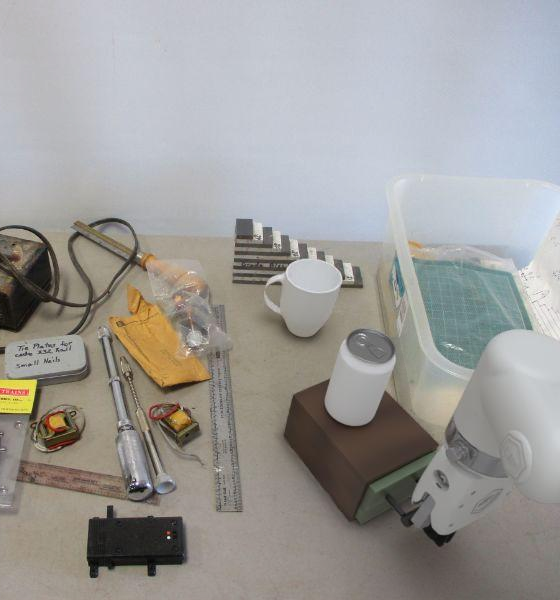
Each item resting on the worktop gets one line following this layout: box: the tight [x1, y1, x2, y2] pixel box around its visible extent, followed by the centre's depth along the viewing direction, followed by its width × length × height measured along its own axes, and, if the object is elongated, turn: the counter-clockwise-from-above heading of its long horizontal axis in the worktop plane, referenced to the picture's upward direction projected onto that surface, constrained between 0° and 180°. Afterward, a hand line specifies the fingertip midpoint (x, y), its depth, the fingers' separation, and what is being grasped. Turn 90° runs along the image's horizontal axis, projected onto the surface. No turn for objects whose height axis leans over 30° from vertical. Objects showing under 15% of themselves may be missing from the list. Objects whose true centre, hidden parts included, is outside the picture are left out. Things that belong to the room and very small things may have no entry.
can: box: [325, 327, 397, 426], centre depth 73 cm, size 6×6×12 cm
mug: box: [263, 258, 343, 338], centre depth 98 cm, size 12×9×12 cm
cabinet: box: [282, 377, 440, 522], centre depth 79 cm, size 15×12×10 cm
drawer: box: [355, 451, 437, 529], centre depth 77 cm, size 18×10×8 cm, turn 27°
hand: (434, 533), depth 70 cm, fingers closed
